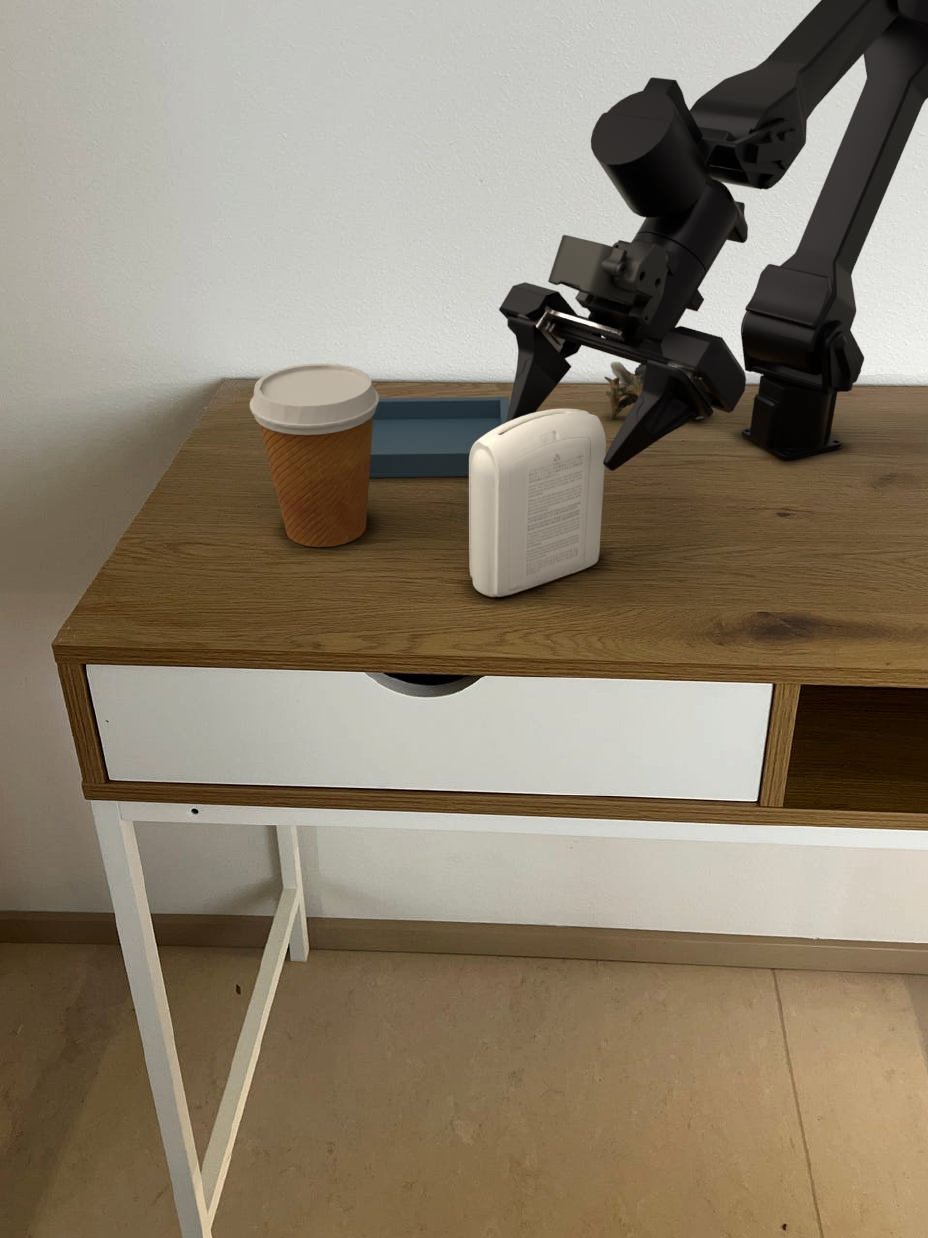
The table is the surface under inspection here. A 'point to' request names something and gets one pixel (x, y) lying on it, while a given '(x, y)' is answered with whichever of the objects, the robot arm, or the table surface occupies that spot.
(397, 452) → the tray
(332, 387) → the disposable coffee cup
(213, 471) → the table surface
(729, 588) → the table surface
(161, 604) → the table surface
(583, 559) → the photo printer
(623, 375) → the eagle figurine
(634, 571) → the table surface
